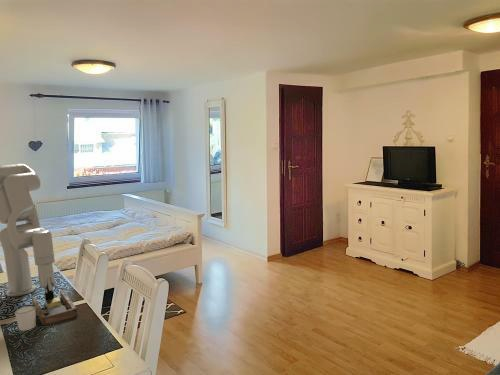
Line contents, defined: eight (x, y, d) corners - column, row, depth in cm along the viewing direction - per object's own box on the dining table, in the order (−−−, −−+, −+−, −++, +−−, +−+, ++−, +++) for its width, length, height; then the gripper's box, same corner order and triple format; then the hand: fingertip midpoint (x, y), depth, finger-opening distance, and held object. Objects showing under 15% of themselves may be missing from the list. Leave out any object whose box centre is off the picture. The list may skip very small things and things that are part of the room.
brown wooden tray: (32, 304, 175) (31, 297, 174) (63, 296, 182) (62, 289, 181) (42, 325, 154) (41, 317, 153) (77, 315, 161) (76, 308, 160)
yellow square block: (46, 307, 172) (45, 300, 171) (58, 303, 175) (57, 297, 174) (48, 310, 168) (47, 304, 167) (61, 307, 171) (60, 300, 170)
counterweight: (48, 317, 162) (47, 310, 161) (64, 312, 165) (64, 305, 165) (51, 322, 157) (50, 315, 156) (67, 317, 160) (67, 310, 160)
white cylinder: (28, 331, 149) (26, 313, 148) (12, 331, 151) (10, 313, 150) (41, 323, 156) (39, 306, 155) (26, 322, 157) (24, 305, 156)
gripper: (32, 257, 176) (37, 298, 178) (37, 265, 163) (43, 308, 166) (51, 254, 180) (56, 293, 182) (57, 261, 168) (63, 303, 170)
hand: (50, 300), depth 174 cm, fingers closed
